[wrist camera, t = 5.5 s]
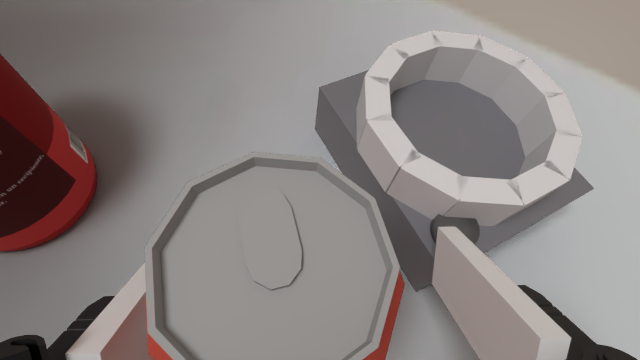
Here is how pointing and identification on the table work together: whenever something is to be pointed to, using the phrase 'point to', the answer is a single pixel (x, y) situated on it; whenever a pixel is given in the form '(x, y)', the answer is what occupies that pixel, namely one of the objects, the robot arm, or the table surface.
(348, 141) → the mount
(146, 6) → the table surface
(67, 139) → the canned food
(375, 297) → the beverage can
